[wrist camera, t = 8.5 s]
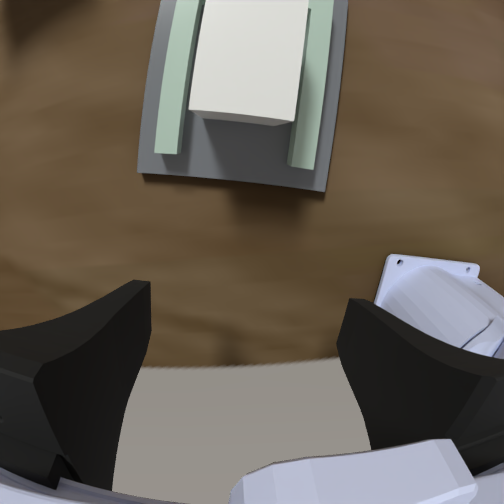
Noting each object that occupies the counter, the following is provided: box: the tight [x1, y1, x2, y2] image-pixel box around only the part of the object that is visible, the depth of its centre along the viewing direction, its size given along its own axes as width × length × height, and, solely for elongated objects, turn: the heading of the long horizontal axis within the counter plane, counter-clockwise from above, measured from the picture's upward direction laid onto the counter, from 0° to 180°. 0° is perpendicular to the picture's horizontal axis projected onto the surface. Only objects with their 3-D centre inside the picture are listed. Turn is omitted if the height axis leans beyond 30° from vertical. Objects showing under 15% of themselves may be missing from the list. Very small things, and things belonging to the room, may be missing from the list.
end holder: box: [137, 0, 348, 192], centre depth 16 cm, size 11×13×2 cm
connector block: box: [189, 0, 309, 126], centre depth 13 cm, size 4×6×6 cm, turn 173°
